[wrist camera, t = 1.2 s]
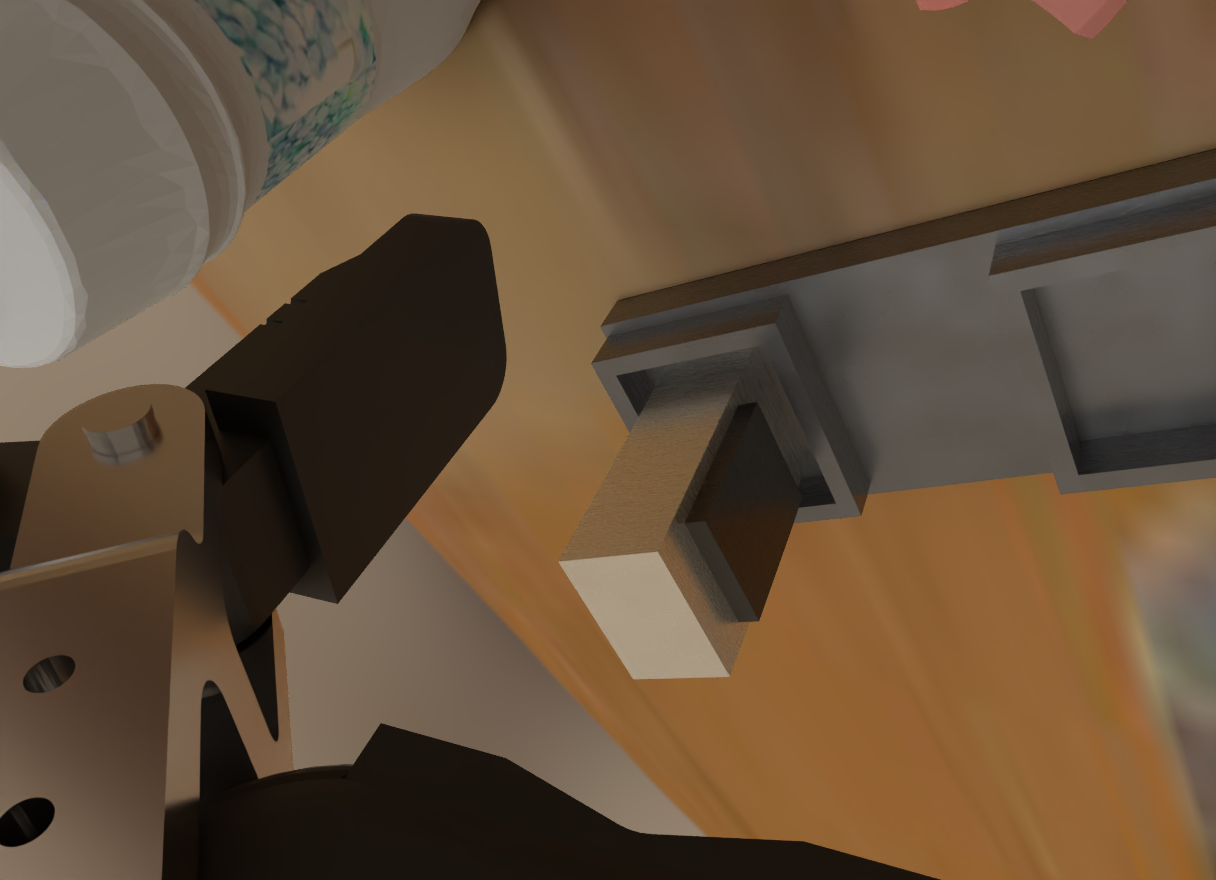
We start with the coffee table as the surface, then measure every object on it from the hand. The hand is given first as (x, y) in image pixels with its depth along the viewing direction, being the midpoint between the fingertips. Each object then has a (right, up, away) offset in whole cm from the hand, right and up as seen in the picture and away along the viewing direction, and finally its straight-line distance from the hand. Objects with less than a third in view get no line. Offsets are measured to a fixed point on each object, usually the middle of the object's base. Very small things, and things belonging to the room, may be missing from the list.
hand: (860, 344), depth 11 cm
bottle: (-8, +13, +20) cm, 25 cm away
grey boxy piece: (+7, +2, +22) cm, 23 cm away
